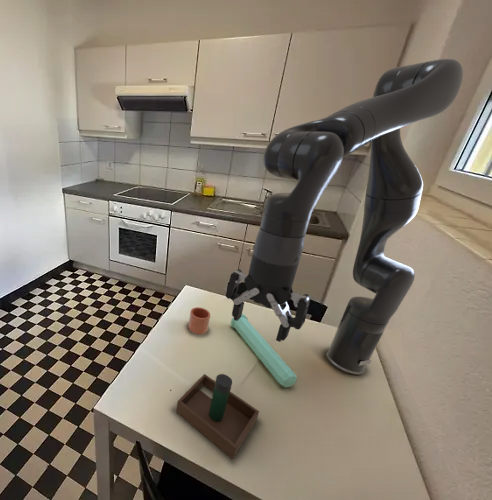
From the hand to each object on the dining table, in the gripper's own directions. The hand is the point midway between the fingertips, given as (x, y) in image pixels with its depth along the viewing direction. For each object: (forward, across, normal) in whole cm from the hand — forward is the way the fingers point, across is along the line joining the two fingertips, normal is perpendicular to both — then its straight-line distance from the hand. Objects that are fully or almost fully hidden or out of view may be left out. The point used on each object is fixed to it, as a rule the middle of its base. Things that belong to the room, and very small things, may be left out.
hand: (257, 328), depth 55 cm
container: (+25, +4, -22) cm, 34 cm away
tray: (+24, +3, +5) cm, 25 cm away
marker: (+24, +3, +5) cm, 24 cm away
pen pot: (+24, +23, -18) cm, 38 cm away
